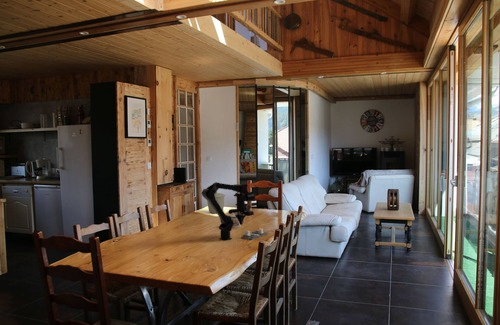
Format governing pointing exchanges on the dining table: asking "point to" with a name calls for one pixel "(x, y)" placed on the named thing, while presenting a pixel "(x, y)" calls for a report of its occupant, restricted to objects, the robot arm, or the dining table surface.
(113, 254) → the dining table surface
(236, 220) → the teacup with lid
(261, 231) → the tab
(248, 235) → the tab
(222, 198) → the canister
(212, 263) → the dining table surface
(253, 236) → the switch bank
